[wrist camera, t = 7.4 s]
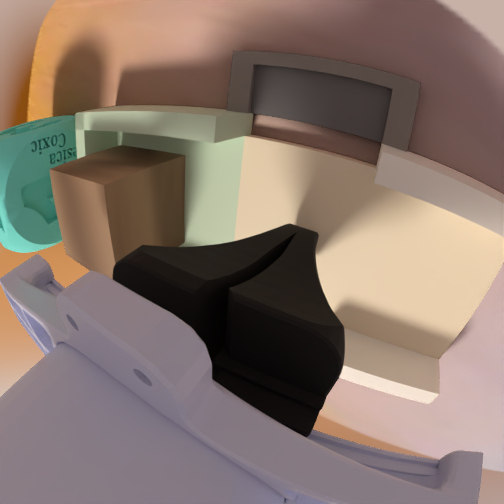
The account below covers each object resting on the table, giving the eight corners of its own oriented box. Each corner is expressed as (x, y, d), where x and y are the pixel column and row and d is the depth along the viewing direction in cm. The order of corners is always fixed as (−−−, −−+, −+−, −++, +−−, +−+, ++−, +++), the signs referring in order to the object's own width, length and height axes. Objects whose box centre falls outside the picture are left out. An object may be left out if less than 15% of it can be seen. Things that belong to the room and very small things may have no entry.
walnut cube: (185, 155, 13) (104, 185, 9) (184, 242, 16) (121, 290, 12) (121, 144, 14) (49, 169, 10) (126, 219, 17) (66, 254, 13)
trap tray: (537, 145, 6) (573, 159, 3) (406, 388, 14) (401, 427, 12) (116, 63, 12) (76, 66, 10) (128, 273, 21) (102, 293, 19)
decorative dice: (105, 218, 19) (21, 268, 13) (59, 196, 22) (-9, 232, 15) (99, 115, 15) (-8, 147, 9) (52, 115, 17) (-26, 141, 11)
